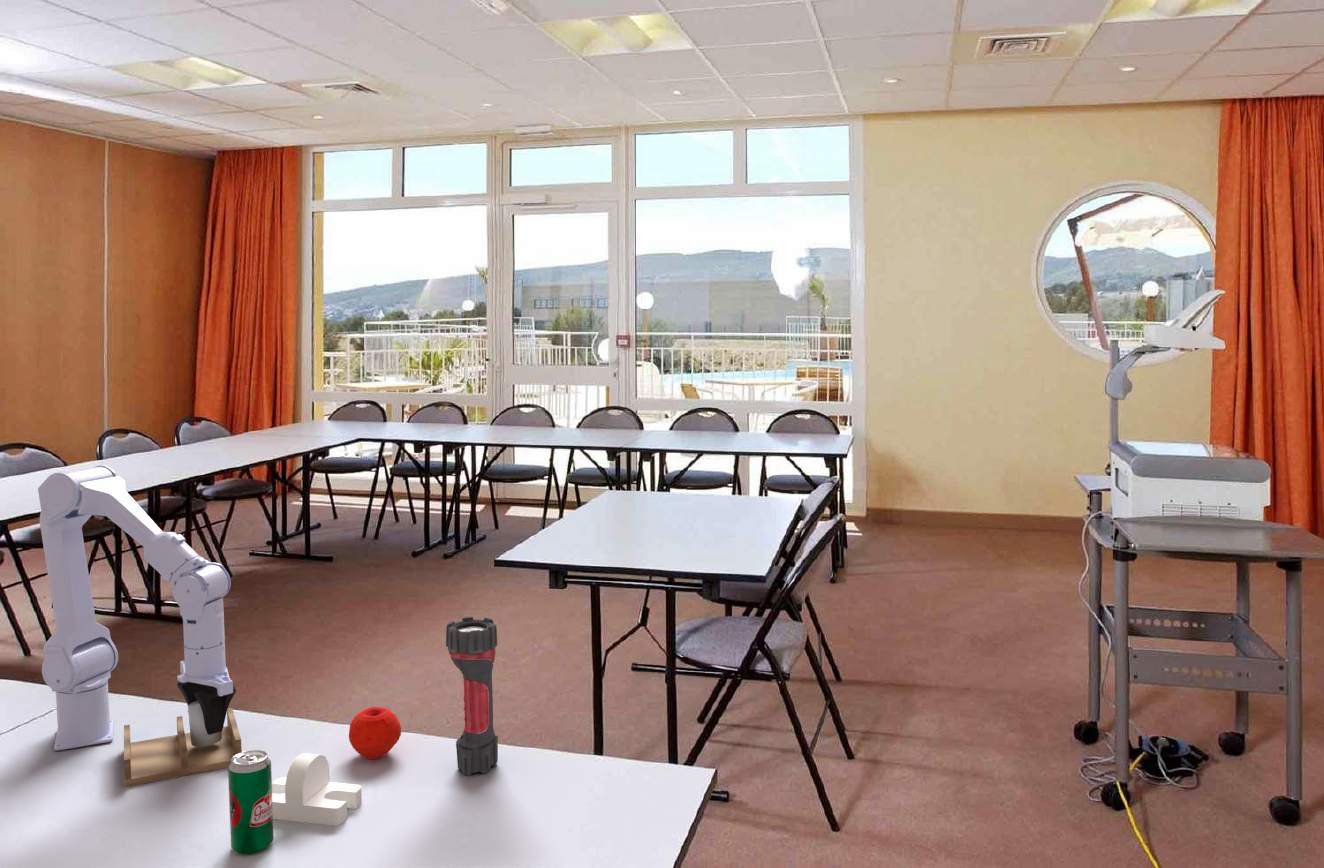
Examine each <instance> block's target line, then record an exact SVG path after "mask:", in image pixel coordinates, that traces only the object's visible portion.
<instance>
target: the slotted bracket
mask: <svg viewBox="0 0 1324 868" xmlns="http://www.w3.org/2000/svg"><path fill="white" fill-rule="evenodd" d="M329 764H330V763H329V761H328V759H327V757H326V756H325V755H323V754H318V753H317V754H316V753H305V752H304V753H303V752H302V753H301V754H299V755H297V756H296V757H295V759H293V761H292V763H291V765H290V766H289V769H288V771H287V774H286V775H287V776H282V777H278V778H275V780H272V803H273V820H283V821H292V822H298V823H299V822H302V823H310V824H319V825H328V826H339V825H341V824H343V823H344V822H345V821H346V820H347V818H348V809H355V810H356V809H358V808H359V807H360V806H361V805H362V804H363V803H362V802H363V801H362V796H363V795H362V785H361V784H355V783H344V782H343V783H342V782H336V781H335V782H334V781H330V780H331V779H330V765H329Z"/></svg>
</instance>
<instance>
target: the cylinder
mask: <svg viewBox="0 0 1324 868" xmlns="http://www.w3.org/2000/svg"><path fill="white" fill-rule="evenodd" d="M187 710H188V711H187V712H188V722H189V725H188V726H189V733H190V737H191V745H193V746H196V747H204V746H209V745H213V744H215V743H217V742H219V741H220V740H221V739H222V731H221V732H218V733H214V734H211V735H209V734H207V731H206V728H205V723H204V717H203V712H202V709H201V706H200V704H199V702H198V700H197V701H194V702H192V703H190V704H189V705H187Z"/></svg>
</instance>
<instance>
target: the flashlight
mask: <svg viewBox="0 0 1324 868" xmlns="http://www.w3.org/2000/svg"><path fill="white" fill-rule="evenodd" d="M445 630H446V634H445V646H446V647H447V651H448V654H449V656H450V659H451V661H452V663H453V664H454V666H455V667H456V668H457V669H458V670H459V671H460V673H461V675H462V678H463V711H464V728H463V732H462V734H461V735H460V737H459V738H457V740H456V741H455V747H456V760H457V761H456V763H457V769H458V770H460V771H462V774H463V776H467V777H470V776H472V774H474V773H480V774H482V775H485V774H486V773H488V772H489V771H490V768H491V767H496V765H497V764H498V760H499V756H498V755H499V754H498V751H499V744H498V742H499V736H498V735H496V733H495V730H494V708H493V707H494V705H493V704H494V697H493V669H494V668H493V667H494V662H495V658H496V647H497V646H498V630H497V625H496V624H495V623H494V620H493V619H492V618H490V617H484V618H483V619H477V618H476V619H474V617H473V616H464V617H463V618H462V619H461V620H460V621H457V622H455V621H453V620H451V621H449V622H448V623H447V624H446V629H445Z"/></svg>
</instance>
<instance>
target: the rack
mask: <svg viewBox="0 0 1324 868" xmlns="http://www.w3.org/2000/svg"><path fill="white" fill-rule="evenodd" d="M226 720H227V721H226V722H227V725H226V726H223V730H222V739H221V740H220V741H219V742H217V743H215V744H213V745H209V746H204V747H196V746H193V745H191V737H190V732H185V726H184V720H183V715H180V716H176V731H177V732H176V733H177V734H175V735H174V734H173V735H169V736H163V737H157V738H151V739H146V740H145V739H144V740H140V741H133V742H131V727H130V726H131V724H125V725H123V768H124V784H125V787H132V786H137V785H142V784H146V783H152V782H157V781H162V780H169V779H175V778H178V777H184V776H191V775H195V774H199V773H204V772H210V771H214V770H221V769H226V768H228V767H229V765H230V764H231V759H232V757H233V756H235V755H237V754H239V753H241V752H243V751H242V738H241V734H240V730H239V728H238V724H237V721H236V720H237V719H236V716H235V713H234V709H233V707H228V709H227V713H226Z"/></svg>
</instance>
